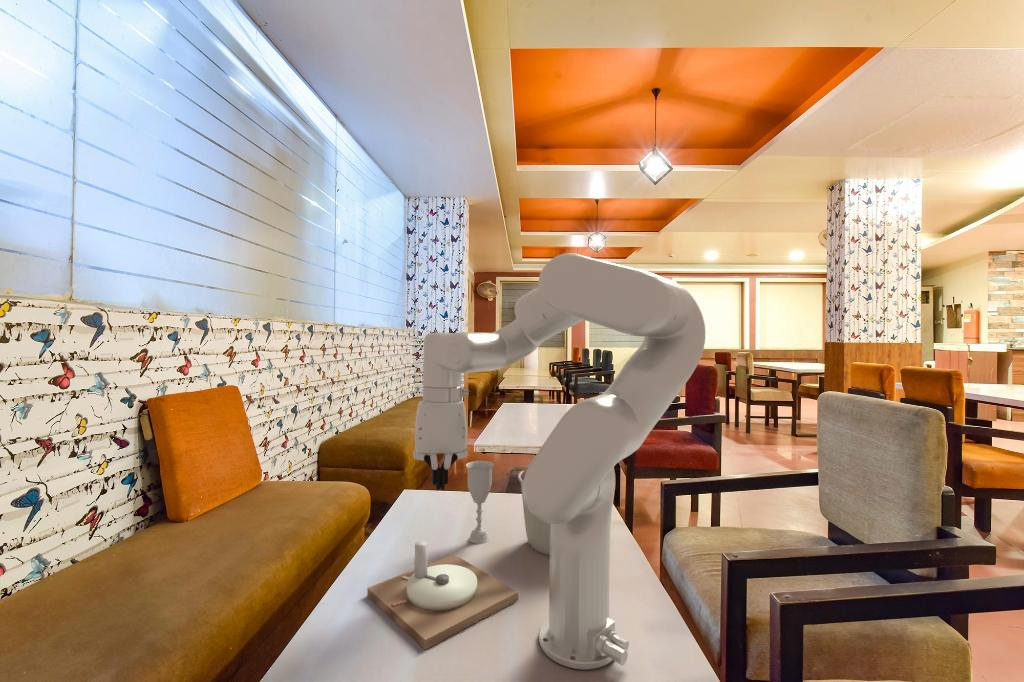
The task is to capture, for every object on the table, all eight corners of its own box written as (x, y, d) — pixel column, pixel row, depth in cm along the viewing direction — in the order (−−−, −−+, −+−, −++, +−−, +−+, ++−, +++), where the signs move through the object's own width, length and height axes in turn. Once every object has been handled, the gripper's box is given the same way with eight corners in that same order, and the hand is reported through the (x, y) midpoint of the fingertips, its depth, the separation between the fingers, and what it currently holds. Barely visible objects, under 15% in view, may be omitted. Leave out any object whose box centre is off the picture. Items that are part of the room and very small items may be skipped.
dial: (489, 582, 88) (490, 543, 88) (451, 618, 76) (451, 573, 76) (434, 566, 93) (435, 529, 93) (391, 597, 82) (391, 556, 82)
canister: (506, 557, 101) (507, 462, 101) (529, 525, 118) (530, 445, 118) (587, 571, 95) (589, 471, 95) (599, 536, 112) (600, 451, 112)
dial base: (517, 600, 84) (517, 591, 84) (425, 649, 71) (425, 638, 71) (454, 561, 99) (454, 553, 99) (367, 595, 85) (367, 586, 85)
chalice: (488, 547, 106) (489, 469, 106) (460, 544, 107) (461, 467, 107) (496, 533, 113) (497, 461, 113) (470, 531, 114) (470, 459, 114)
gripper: (476, 392, 95) (474, 480, 95) (403, 393, 92) (401, 483, 92) (482, 397, 88) (480, 492, 88) (403, 398, 84) (400, 496, 84)
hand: (439, 487), depth 90 cm, fingers closed
